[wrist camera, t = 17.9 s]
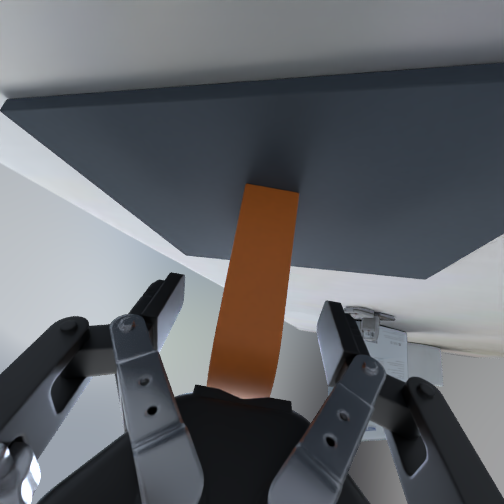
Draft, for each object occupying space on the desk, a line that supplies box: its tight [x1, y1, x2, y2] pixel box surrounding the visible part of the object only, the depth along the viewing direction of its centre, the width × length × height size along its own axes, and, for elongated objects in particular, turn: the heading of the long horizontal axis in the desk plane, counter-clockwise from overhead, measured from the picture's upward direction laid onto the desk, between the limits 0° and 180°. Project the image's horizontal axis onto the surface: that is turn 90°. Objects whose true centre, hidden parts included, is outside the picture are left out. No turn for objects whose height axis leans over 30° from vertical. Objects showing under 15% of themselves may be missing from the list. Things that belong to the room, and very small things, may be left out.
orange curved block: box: [207, 184, 299, 399], centre depth 13 cm, size 6×2×9 cm, turn 177°
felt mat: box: [0, 63, 504, 279], centre depth 15 cm, size 20×16×1 cm
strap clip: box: [344, 308, 395, 341], centre depth 39 cm, size 8×3×4 cm, turn 63°
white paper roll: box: [407, 342, 443, 386], centre depth 82 cm, size 16×15×11 cm
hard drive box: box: [328, 321, 409, 441], centre depth 52 cm, size 16×8×20 cm, turn 59°
